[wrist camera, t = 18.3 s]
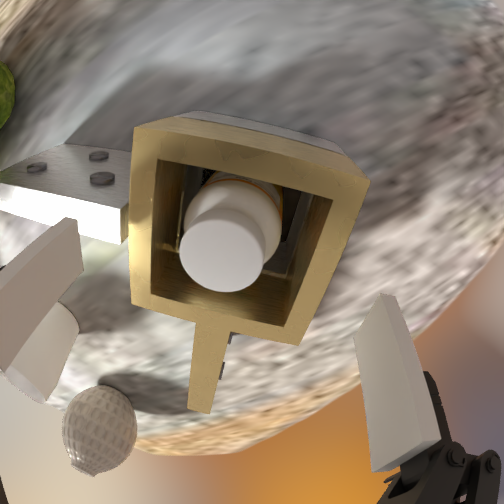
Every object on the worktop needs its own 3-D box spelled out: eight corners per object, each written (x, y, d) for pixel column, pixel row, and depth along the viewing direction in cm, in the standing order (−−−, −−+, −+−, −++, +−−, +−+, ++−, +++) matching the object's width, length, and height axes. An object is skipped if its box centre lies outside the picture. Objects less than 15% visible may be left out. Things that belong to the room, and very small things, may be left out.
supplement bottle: (248, 233, 24) (226, 319, 15) (198, 189, 22) (145, 256, 14) (298, 190, 21) (304, 263, 13) (245, 139, 20) (212, 178, 11)
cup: (40, 279, 30) (-13, 342, 20) (93, 321, 32) (48, 394, 22) (35, 313, 34) (-6, 369, 24) (80, 348, 36) (45, 410, 26)
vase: (93, 399, 46) (64, 465, 32) (74, 363, 39) (33, 441, 25) (151, 420, 46) (127, 493, 32) (141, 388, 39) (107, 479, 25)
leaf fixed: (64, 202, 24) (-1, 253, 16) (65, 100, 18) (-19, 122, 10) (296, 258, 24) (298, 345, 16) (334, 142, 19) (370, 181, 11)
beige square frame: (173, 323, 30) (143, 395, 22) (196, 110, 19) (134, 126, 11) (263, 345, 30) (254, 423, 22) (334, 142, 19) (370, 181, 11)
